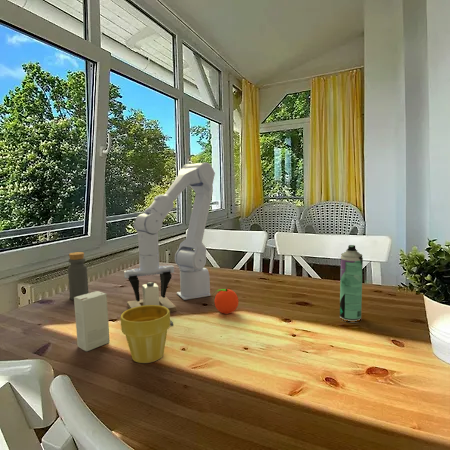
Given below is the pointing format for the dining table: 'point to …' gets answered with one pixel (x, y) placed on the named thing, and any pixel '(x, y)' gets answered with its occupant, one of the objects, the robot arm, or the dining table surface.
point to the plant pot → (146, 331)
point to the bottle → (77, 275)
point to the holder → (162, 302)
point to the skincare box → (91, 320)
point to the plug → (150, 294)
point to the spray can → (351, 284)
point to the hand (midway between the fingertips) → (150, 298)
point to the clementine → (226, 301)
